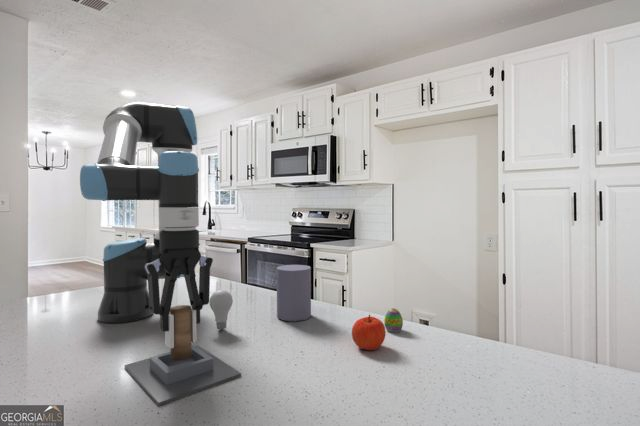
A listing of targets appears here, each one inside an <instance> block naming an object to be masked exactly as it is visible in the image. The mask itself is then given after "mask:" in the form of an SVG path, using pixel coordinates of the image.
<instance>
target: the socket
mask: <svg viewBox="0 0 640 426" xmlns="http://www.w3.org/2000/svg"><path fill="white" fill-rule="evenodd" d="M124 370H126V371H127V373H128V374H129V375H130V376H131V377H132V378H133V379H134V380H135V381H136V383H138V384H139V385H140V387H141V388H142V389H143V390H144V391H145V393H146V394H147V395H148V396H149V397H150V399H152V400H153V401H154V402H155V404H156V405H157V406H158V407H160V406H163V405H166V404H168V403H171V402H175V401H177V400H180V399H183V398H185V397H187V396H190V395H193V394H196V393H199V392H201V391H203V390H207V389H209V388H213V387H216V386H218V385H221V384H224V383H226V382H229V381H232V380H235V379H237V378H240V377H242V372H240V371H239V370H237V369H236V368H234V367H233V366H231V365H229V364H228V363H226V362H225V361H223V360H221V359H220V358H218V357H217V356H215V355H214V354H212V353H211V352H209V351H207V350H206V349H205V348H203V347H202V346H200V345H193V344H192V356H191V357H190V358H188V359H185V360H179V361H176V360H172V359H171V351H167V352H165V353H161V354H158V355H154V356H150V357H149V358H145V359H142V360H138V361H134V362H131V363H127V364H124Z"/></svg>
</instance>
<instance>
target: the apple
mask: <svg viewBox="0 0 640 426" xmlns="http://www.w3.org/2000/svg"><path fill="white" fill-rule="evenodd" d="M351 337H352V340H353V343H354V344H355V345H356V346H357V347H359V349H362V350H366V351H375V350H377V349H379V348H380V347H381V346H382V345H383V344H384V341H385V339H386V327H385V323H384V322H383V321H382V320H380V319H379V318H377V317H375V316H371V314H368V316H365V317H362V318H361V317H360V319H357V320H356V321H355V322H354V324H353V325H352V328H351Z"/></svg>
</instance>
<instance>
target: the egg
mask: <svg viewBox="0 0 640 426" xmlns="http://www.w3.org/2000/svg"><path fill="white" fill-rule="evenodd" d="M383 320H384V322H383V324H384V326H385V330H386V331H387V332H390V333H399V332H400V331H402V329H403V326H404V324H403V323H404V321H403V320H404V319H403V316H402V314H401V313H400V311H399V310H398V309H396V308H390V309H389V310H388V311H386V314H385V316H384V319H383Z"/></svg>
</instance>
